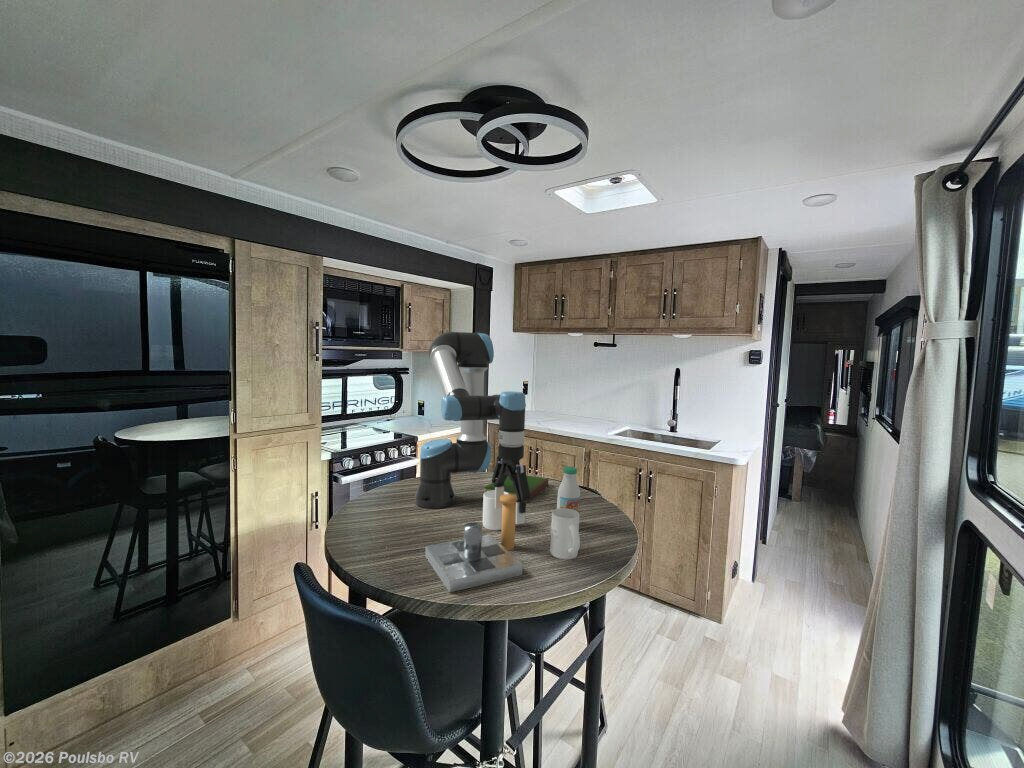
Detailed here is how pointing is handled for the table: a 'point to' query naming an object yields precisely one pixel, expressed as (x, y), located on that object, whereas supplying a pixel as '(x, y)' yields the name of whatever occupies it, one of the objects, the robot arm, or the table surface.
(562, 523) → the mug
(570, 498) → the milk bottle
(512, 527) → the tan wooden pestle
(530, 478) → the hardcover book
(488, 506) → the mug
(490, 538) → the checkered knob plate
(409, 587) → the table surface
